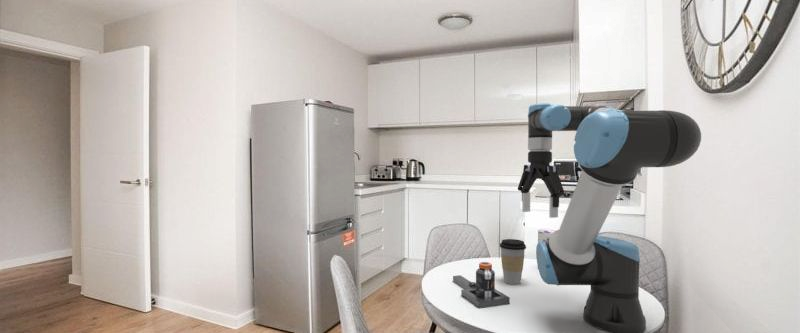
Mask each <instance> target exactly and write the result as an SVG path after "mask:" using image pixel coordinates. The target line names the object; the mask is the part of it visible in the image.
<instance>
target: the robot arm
mask: <svg viewBox="0 0 800 333" xmlns="http://www.w3.org/2000/svg"><path fill="white" fill-rule="evenodd" d="M527 119H528V122H527V124H528V126H527V128H528V129H527V130H528V131H527V132H528V133H527V134H528V135H527V141H528V142H527V149H528V150H529V151H528V153H527V162H528V163H530V164H524V165H523V170H522V171H523V172H522V174H521V177H520V180H519V183H518V186H517V190H518V191H519V192H520V193H521V201H522V202H521V203H522V207H521V208H522V209H521V210H522V212H523V213H528V212H531V192H530V190H531V189H532V187H533V186H534V184H535V182H536V181H537V180H538V179H539V180H541V181H542V182H543V183H544V185H545V186H546V188H547V190H548V192H549V194H550V196H549V202H548V204H549V207H548V208H549V210H548V211H549V212H548V214H549V218H551V219H552V218H559V207H560V197H561V196H565V194H566V193H565V190H564V187H563V183H562V181H561V178H560V175H559V172H558V165H550V164H551V163H552V162H553V152H552V151H551V150H552V149H553V132H576V133H575V136H574V141H575V143H574V145H573V154H574V157H575V161H576V162H577V164H578V167H579V169H580V170H581V174H580V175H579V177H578V180H577V184H576V186H575V188H574V191H573V194H572V195H571V198H570V201H569V203H568V207H567V209H566V211H565V214H564V216H563V219H562V221H561V224H560V226H559V229H557V230H555V232H553V233H552V234H551V236H550V238H549V240H548V242H545V241H542V242H539V243H536V247H535V248H536V249H535V252H536V253H535V257H536V263H537V269H538V272H539V275H540V278H541V280H542V281H543V282H544V283H545V284H547V285H551V286H552V285H555V286H557V287H559V286H590V291H589V293H588V296H587V299H586V302H585V305H584V307H583V312H582V313H583V314H582V317H583V320H584V321H586V323H588V324H589V325H591V326H593V327H594V328H598V329H599V330H603V331H606V332H610V333H643V332H645V331H646V329H647V319H646V317H645V315H644V313H643V308H642V305H641V302H640V297H639V296H640V295H639V294H640V293H639V292H640V291H639V289H640V288H639V287H640V286H639V285H640V263H641V260H640V249H639V247H638V246H637V244H635V243H633V242H631V241H627V240H624V239H619V238H617V237H610V236H604V235H603V236H602V235H599V233H600V231H601V229H602V228H603V226H604V223H605V222H606V219H607V218H608V215H609V214H610V211H611V210H612V207H613V206H614V204H615V201H616V200H617V198H618V196H619V194H620V192H621V189H622V187H623V186H627V185H628V184H631V183H633V181H635V179H636V178H637V176H638V175H639V174H638V173H639V172H640V170H641V169H643V168H668V167H672V166H676V165H681V164H683V163H684V162H686V161H687V160H689V159H690V158H691V157H692V156H694V155H695V154H696V152H697V151H698V149H699V147H700V145H701V141H702V132H701V129H700V127H699V124H698V122H697V121H695V119H694V118H692V117H691V116H689V115H687V114H685V113H683V112H679V111H676V110H666V109H665V110H664V109H663V110H623V109H622V110H621V109H618V108H617V109H615V107H613V106H609V105H608V106H607V105H598V106H597V105H595V106H594V105H593V106H591V105H589V106H587V105H586V106H583V105H582V106H581V105H579V106H576V105H575V106H574V105H567V106H565V105H563V104H551V103H533V104H530V105H529V107H528V113H527ZM574 141H573V142H574Z"/></svg>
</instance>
